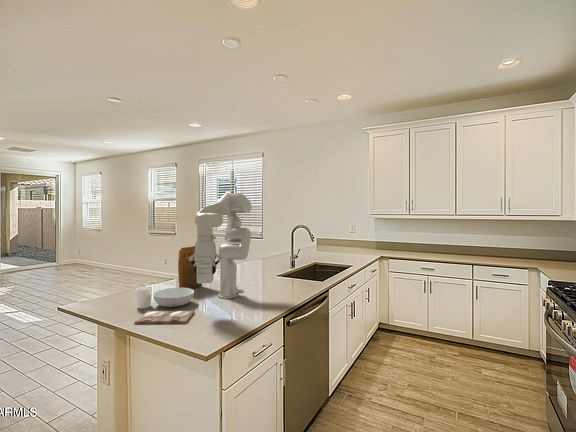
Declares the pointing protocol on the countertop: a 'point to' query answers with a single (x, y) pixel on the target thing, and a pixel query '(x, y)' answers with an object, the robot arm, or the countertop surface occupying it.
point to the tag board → (165, 317)
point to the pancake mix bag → (187, 269)
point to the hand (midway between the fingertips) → (205, 273)
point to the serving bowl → (173, 296)
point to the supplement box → (204, 270)
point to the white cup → (143, 296)
